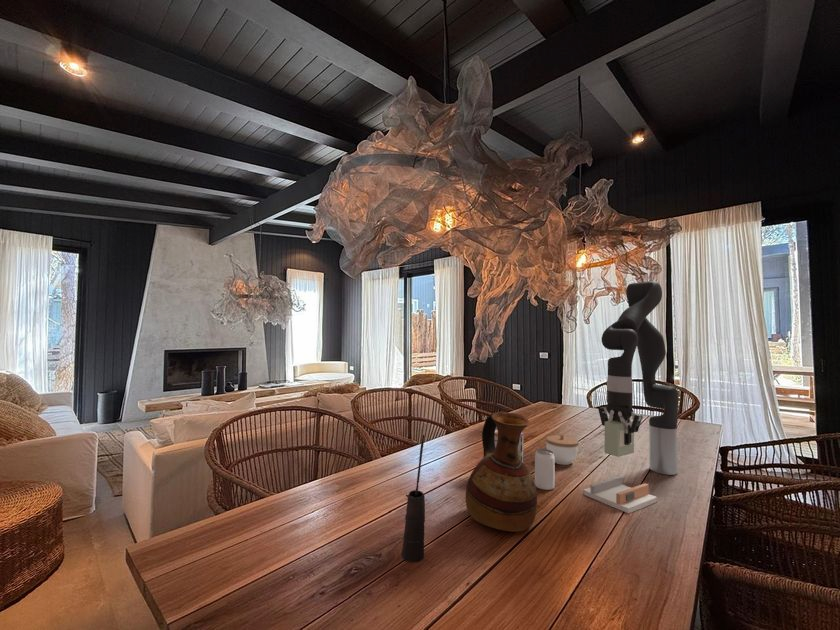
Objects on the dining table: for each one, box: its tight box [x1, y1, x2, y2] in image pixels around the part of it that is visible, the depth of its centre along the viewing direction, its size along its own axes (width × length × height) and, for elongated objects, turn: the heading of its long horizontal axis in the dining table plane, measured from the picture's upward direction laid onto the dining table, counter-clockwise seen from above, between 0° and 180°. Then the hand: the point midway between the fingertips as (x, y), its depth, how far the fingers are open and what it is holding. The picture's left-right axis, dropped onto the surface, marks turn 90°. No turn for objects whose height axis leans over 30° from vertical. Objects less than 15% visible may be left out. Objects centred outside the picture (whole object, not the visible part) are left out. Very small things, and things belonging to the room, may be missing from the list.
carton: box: [604, 420, 635, 458], centre depth 124 cm, size 4×9×10 cm, turn 121°
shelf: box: [582, 475, 658, 514], centre depth 123 cm, size 16×15×4 cm
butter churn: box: [400, 434, 426, 563], centre depth 88 cm, size 9×10×28 cm
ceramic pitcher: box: [465, 411, 538, 533], centre depth 107 cm, size 20×20×30 cm
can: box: [534, 448, 556, 491], centre depth 131 cm, size 6×6×12 cm
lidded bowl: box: [545, 433, 579, 466], centre depth 157 cm, size 13×13×11 cm
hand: (619, 442), depth 123 cm, fingers closed on carton, 4 cm apart
